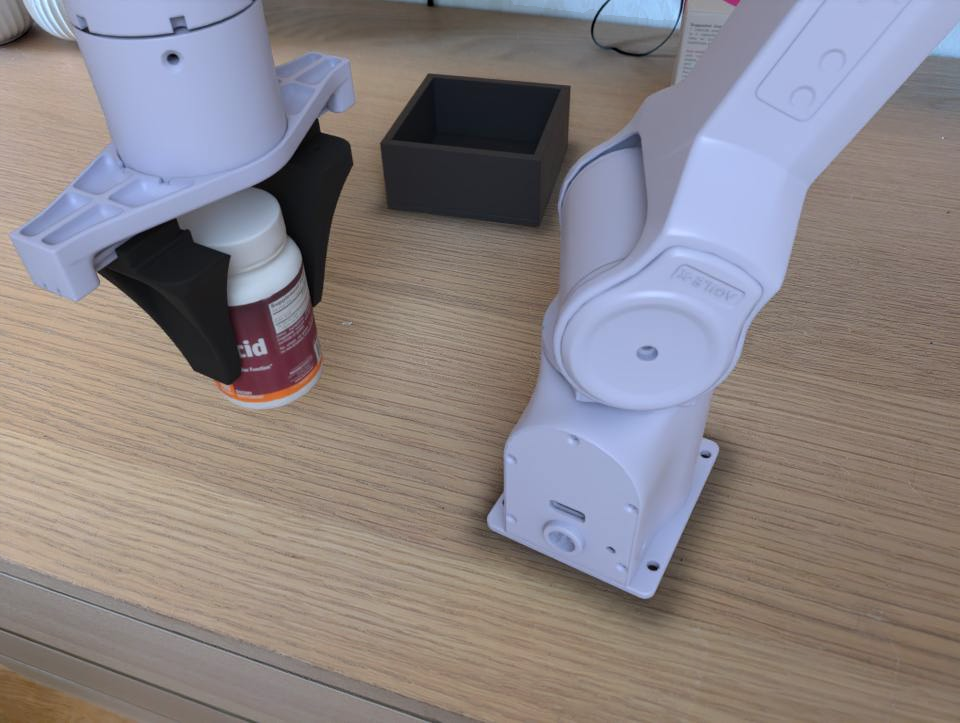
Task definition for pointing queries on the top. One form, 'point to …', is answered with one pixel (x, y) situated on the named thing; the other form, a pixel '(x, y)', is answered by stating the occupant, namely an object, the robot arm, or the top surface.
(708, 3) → the supplement box
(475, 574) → the top surface
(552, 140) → the open storage bin
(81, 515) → the top surface
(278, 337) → the pill bottle
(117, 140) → the robot arm
